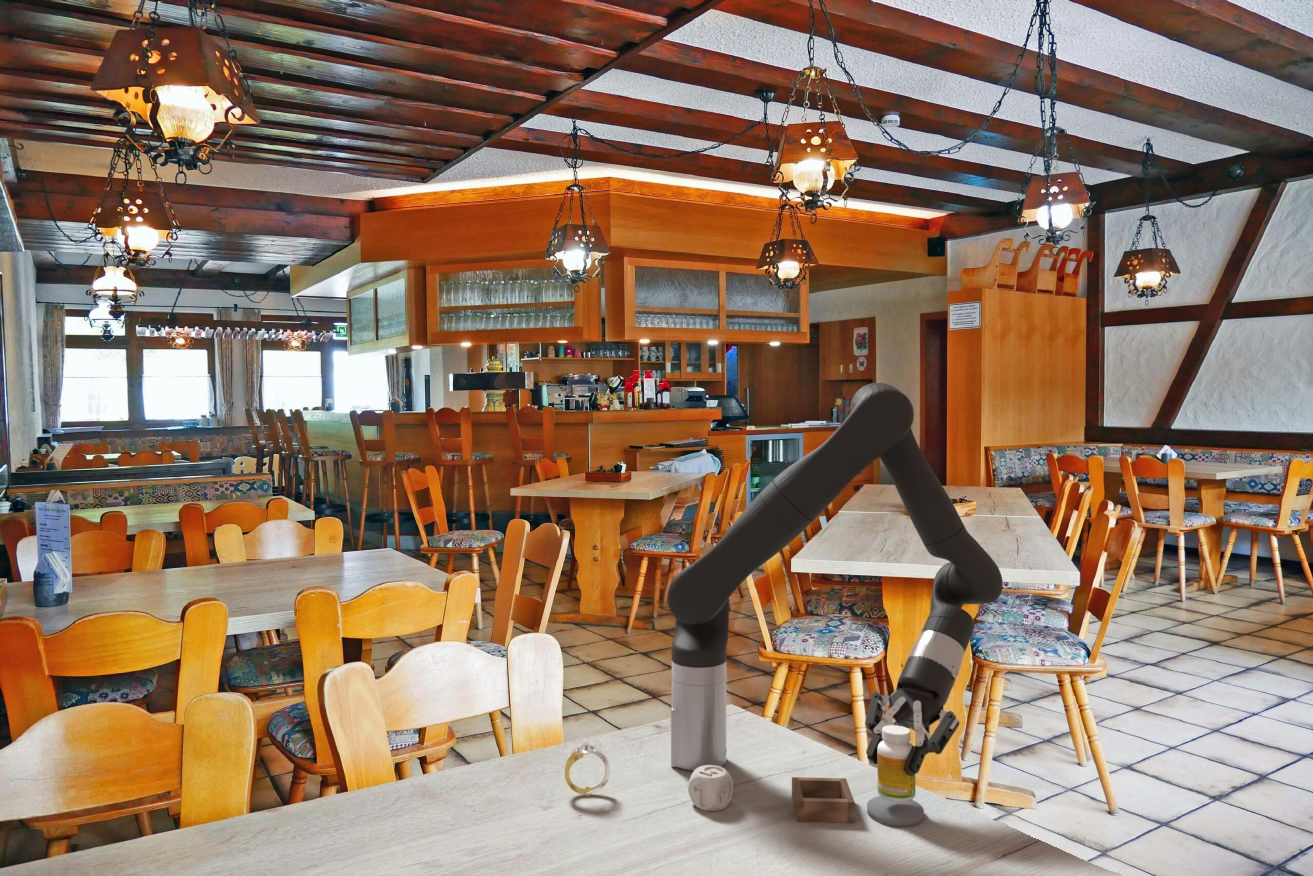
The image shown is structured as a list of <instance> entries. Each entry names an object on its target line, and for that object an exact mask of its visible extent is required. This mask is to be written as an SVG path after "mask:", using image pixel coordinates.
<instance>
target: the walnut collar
mask: <svg viewBox="0 0 1313 876" xmlns="http://www.w3.org/2000/svg"><path fill="white" fill-rule="evenodd" d="M851 791H852V790H851V789H850V786H849V783H848V781H847V778H844V777H843V778H842V777H840V778H839V777H806V776H805V777H803V776H802V777H798V776H796V777H794V776H793V777H791V799H792V805H793V809H794V814H795V818H796V822H810V823H811V822H813V823H814V822H815V823H817V822H818V823H849V824H850V823H851V824H853V823H855V821H856V820H855V812H856V811H855V808H856V807H855V800H854V796H853V794H852V792H851Z"/></svg>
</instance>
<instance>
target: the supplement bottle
mask: <svg viewBox="0 0 1313 876" xmlns="http://www.w3.org/2000/svg"><path fill="white" fill-rule="evenodd" d="M882 738H883V741H881V742H880V743H879V744H878V748H877V764H876V765H877V767H876V768H877V770H876V771H877V774H876V775H877V781H876V782H877V790H876V791H877V794H878V796H881V797H882V798H884V799H886V800H889V801H893V802H907V801H911V800H914V799H915V797H916V773H915V774H914V776H909V775H907V774H906V772H905V771H904V769H903V768H904V765H905V762H906V760H907V757H908V755H909V753H910V750H911V748H912V746H914V745H913V744H912V743H910V742H911V729H910V728H906V727H903V726H898V725H888V726H884V727H883V728H882Z"/></svg>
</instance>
